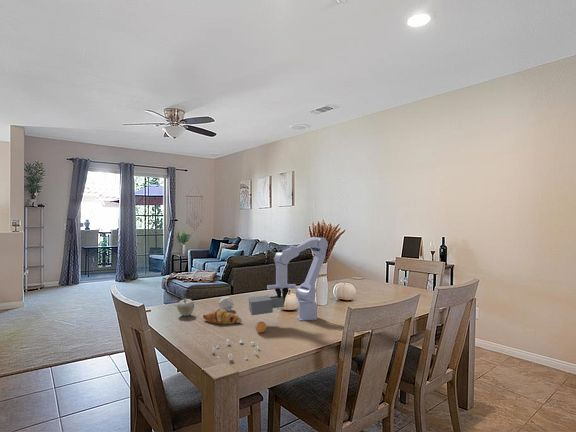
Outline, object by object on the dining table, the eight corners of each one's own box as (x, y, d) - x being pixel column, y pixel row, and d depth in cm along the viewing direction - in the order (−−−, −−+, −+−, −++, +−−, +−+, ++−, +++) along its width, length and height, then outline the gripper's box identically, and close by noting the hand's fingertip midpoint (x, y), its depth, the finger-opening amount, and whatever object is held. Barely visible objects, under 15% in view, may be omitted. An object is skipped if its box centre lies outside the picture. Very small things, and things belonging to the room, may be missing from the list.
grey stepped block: (280, 305, 180) (280, 293, 180) (285, 310, 170) (284, 298, 170) (249, 310, 176) (248, 297, 176) (251, 315, 166) (250, 302, 166)
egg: (265, 322, 166) (266, 319, 162) (266, 332, 164) (267, 330, 160) (254, 323, 165) (255, 321, 161) (256, 334, 163) (257, 332, 159)
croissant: (243, 328, 179) (246, 313, 182) (237, 325, 170) (240, 308, 174) (205, 325, 183) (208, 309, 187) (197, 321, 174) (201, 305, 178)
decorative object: (192, 312, 195) (192, 295, 195) (195, 316, 187) (195, 298, 187) (176, 314, 191) (176, 296, 191) (178, 319, 183) (178, 300, 183)
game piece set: (245, 366, 127) (245, 355, 127) (200, 357, 135) (200, 347, 135) (269, 347, 145) (269, 338, 145) (228, 340, 153) (228, 332, 153)
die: (226, 314, 193) (236, 299, 196) (213, 306, 195) (223, 291, 198) (228, 316, 201) (237, 301, 204) (216, 308, 202) (225, 293, 205)
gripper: (268, 278, 170) (268, 306, 170) (297, 277, 173) (297, 304, 173) (266, 275, 176) (266, 302, 176) (294, 274, 180) (294, 301, 180)
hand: (281, 303), depth 175 cm, fingers closed on grey stepped block
